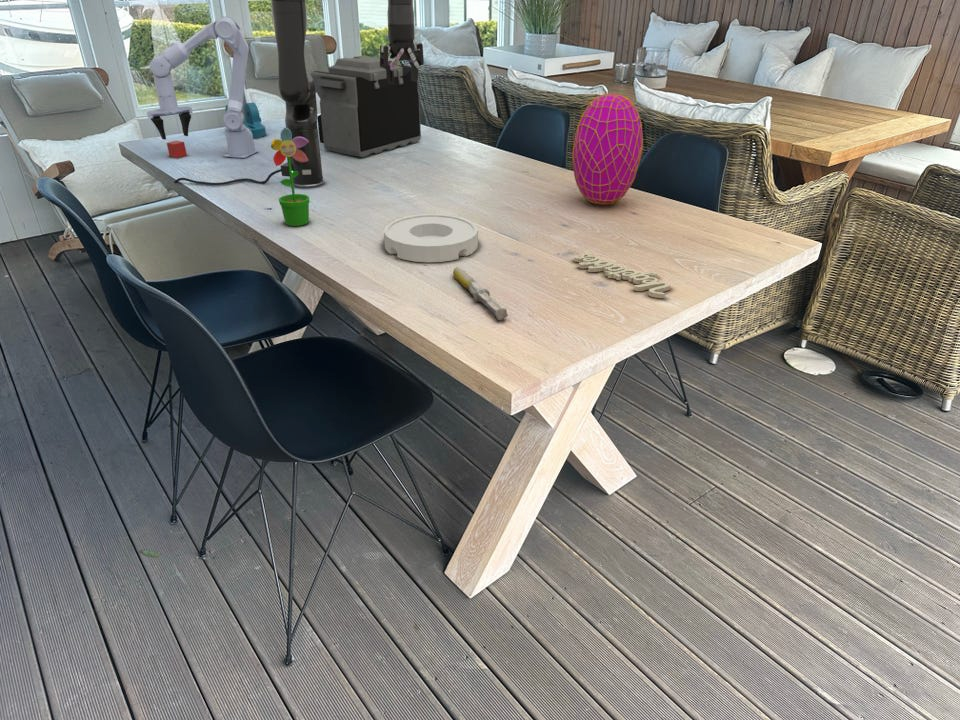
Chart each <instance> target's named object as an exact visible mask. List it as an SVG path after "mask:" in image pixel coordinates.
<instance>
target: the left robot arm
mask: <svg viewBox="0 0 960 720" xmlns="http://www.w3.org/2000/svg"><path fill="white" fill-rule="evenodd" d="M218 38H219V39H221V40H222V41H223V42H225V43H226V44H227V45H228V47H230V49H231V50H232V51H233V55H232V57H233V58H232V64H231V65H232V66H231V74H230V75H231V76H230V85H229V95H228V103H227V105H228V108H227V111H225V114H224V116H223V118H222V122H223V125H224V126H225V127H224V132H225V137H226V144H227V150H228V151H227V152H228V153H227V154H226V153H225V154H224V155H223V156H224V157H226V158H236V159H238V158H239V159H246V158H247V157H250V156H251V155H254V154H256V153H258V150H256V148H255V142H254V141H255V140H254V138H253V135H252V132H251V131H250V129H248V128H247V127H246V126H245V125H244V124H243V121H245V113H244V94H245V86H246V76H247V68H248V67H247V66H248V60H249V59H248V58H249V50H250V47H249V45H248V42H247V40H246V38H245V36H244V34H243V32H242V28H241V27H240V25H239V24H238V22H236V20H234V19H233V18H232V17H230V16H225V15H224V16H221V17H220V18H219V19H218V20H214V21H212V22H210V23H208V24H206V25H204V26H203V27H202V28H201V29H200V30H198V31H197V32H195V33H194V34H193V35H192V36H191V37H189V38H188V39H187V40H184V41H183V42H180V41H176V42H173V41H172V42H171V43H169V47H168V48H166V49H165V50H163V51H160V52H158V53H157V55H158V56H155V57H153V58H152V59H151V61H150V62H149V71H150V72H151V73H152V76H153V80H154V81H153V83H154V86H155V92H156V97H157V101H158V106H159V109H154V110H149V111H146V115H147V118H148V119H150V120H151V122H152V123H153V125H154V126H155V128H156V129H157V131H158V133H159V136H160V138H161V139H162V140H167V135H166V131H165V126H164V119H162V117H168V116H169V117H171V116H176V115H178V117H179V120H180V124H181V129H182V133H183V136H184V137H189V127H190V122H191V119H192V114H193V107H192V106H179V105H178V99H177V95H176V90H175V86H174V80H173V77H172V73H171V71H172V70H175V69H177V68H178V67H179V66H181V65H182V64H183V63H184V62H186V61H187V60H189V59H190V53H191V52H192V51H193V50H195V49H196V48H198V47H199V46H201V45H202V44H204V43H205V42H206V41H208V40H217V39H218Z"/></svg>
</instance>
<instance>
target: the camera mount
mask: <svg viewBox="0 0 960 720" xmlns="http://www.w3.org/2000/svg"><path fill="white" fill-rule="evenodd" d="M227 108H228V104H226V105H225V112H226V111H227ZM243 114H244V121H243V124H244V125H245V126H246V127H247V128H248V129H250V131H251V132H252V135H253V139H258V138H262V137H266V136H267V132H266V126H265V125H263V124H262V121H261V116H260V111H259V108H258V106H257V104H256V102H246V103H244V104H243Z"/></svg>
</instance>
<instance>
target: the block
mask: <svg viewBox="0 0 960 720" xmlns="http://www.w3.org/2000/svg"><path fill="white" fill-rule="evenodd" d="M166 147H167V151H168V156H169V157H170V158H175V159H180V158H183V157H187V156H188V154H187V148H186V144H185V141H182V140H173V141H168V142H166Z"/></svg>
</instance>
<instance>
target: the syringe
mask: <svg viewBox="0 0 960 720" xmlns="http://www.w3.org/2000/svg"><path fill="white" fill-rule="evenodd" d="M452 274H453V277H454V279H455V280H457V281H458V282H459V283H460V285H462V287H464V289H466V290H467V291H468V293H470V295H471V296H472V298H473V300H474V302H477V303H478V302H480V303H482V304H483V305H484V306H485V307H486V308H487V309H488V310H489V311H490V312H491V313H492V314H493V315H494V316H495V317H496V320H497V321H503V320H504V319H506V318H507V317H509V314H508V310H507V308H506V307H502V306H501V305H500V303H498V302H497V301H496V300H494V299H493V298H492V297H491V296H490V295H491V293H490V290H488V289H486V288H483V287H482V286H481V285H480V284H479V283H478V282H477V281H476V280H474V278H473V277H471V275H469V274H468V273H467V272H466V270H465V269H464V268H463V267H462V266H456V267H454V268H453V271H452Z"/></svg>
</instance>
